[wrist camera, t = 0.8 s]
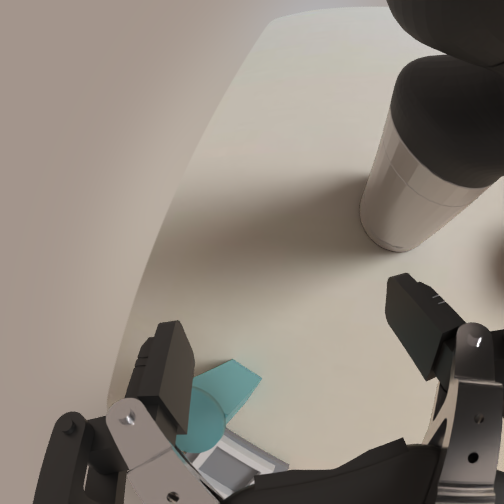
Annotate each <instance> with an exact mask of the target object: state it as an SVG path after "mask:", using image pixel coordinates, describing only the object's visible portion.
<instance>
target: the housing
mask: <svg viewBox="0 0 504 504" xmlns="http://www.w3.org/2000/svg"><path fill="white" fill-rule="evenodd" d="M185 456H186V457H187V458H188V460H189V461H190V462H191V463H192V464H193V466H194V467H195V468H196V469H197V470H198V472H199V473H200V474H201V475H202V476H203V477H204V478H205V479H206V480H207V482H208V483H209V484H210V485H211V486H212V487H213V488H214V489H215V490H216V491H217V492H218V493H219V494H220V495H221V496H222V497H223V498H224V499H225V498H227V497H228V496H230V495H231V494H232V493H234V492H236V491H238V490H239V489H241V488H244V487H246V486H248V485H251V484H254V475H261V474H269V473H276V472H282V471H287V470H288V468H289V464H287V463H285V462H283V461H281V460H279V459H277V458H276V457H274V456H272V455H270V454H268V453H267V452H265V451H263V450H261V449H260V448H258V447H256V446H255V445H253V444H251V443H250V442H248V441H246V440H245V439H243V438H241V437H240V436H238V435H237V434H235V433H233V432H232V431H230V430H229V429H227V428H226V429H225V432H224V435H223V436H222V438H221V439H220V440H219V442H218V443H217V444H216V445H215V446H214V447H213V448H211V449H210V450H208V451H205V452H202V453H189V452H187V453H186V454H185Z"/></svg>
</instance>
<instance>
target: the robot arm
mask: <svg viewBox="0 0 504 504" xmlns="http://www.w3.org/2000/svg"><path fill="white" fill-rule="evenodd" d="M387 3H388V5H389V8H390V10H391V12H392V14H393V16H394V18H395V19H396V21H397V22H398V23H399V25H400V26H401V27H402V28H403V29H404V31H406V32H407V33H408V34H410V35H411V36H412V37H413V38H415V39H416V40H418V41H419V42H421V43H423V44H425V45H427V46H429V47H431V48H434V49H436V50H439V51H441V52H443V53H445V54H447V55H436V56H427V57H422V58H419V59H416V60H414V61H412V62H410V63H409V64H407V65H406V66H405V67H404V68H403V69H402V71H401V72H400V74H399V76H398V78H397V80H396V83H395V86H394V91H393V95H392V99H391V104H390V108H389V112H388V115H387V119H386V123H385V126H384V130H383V134H382V137H381V141H380V144H379V147H378V151H377V154H376V157H375V160H374V163H373V166H372V169H371V172H370V175H369V178H368V181H367V184H366V187H365V190H364V193H363V195H362V198H361V202H360V218H361V222H362V225H363V227H364V229H365V231H366V233H367V234H368V236H369V237H370V238H371V239H372V240H373V241H374V242H375V243H376V244H378V245H379V246H381V247H383V248H385V249H387V250H390V251H395V252H405V251H408V250H412V249H414V248H415V247H417V246H419V245H420V244H421V243H423V242H424V241H425V240H427V239H428V238H429V237H431V236H432V235H433V234H435V233H436V232H437V231H438V230H440V229H441V228H442V227H443V226H445V225H446V224H447V223H448V222H450V221H451V220H452V219H453V218H455V217H456V216H457V215H458V214H459V213H461V212H462V211H463V210H464V209H465V208H466V207H468V206H469V205H470V204H471V203H472V202H473V201H475V200H476V199H477V198H478V197H479V196H480V195H481V194H482V193H483V192H485V191H486V190H487V189H488V188H489V187H490V186H491V185H492V184H493V183H494V182H496V181H497V180H498V179H499V178H500V177H501V176H504V0H387ZM385 314H386V319H387V322H388V324H389V325H390V327H391V328H392V330H393V331H394V333H395V334H396V336H397V337H398V339H399V340H400V342H401V343H402V345H403V346H404V348H405V349H406V351H407V352H408V354H409V355H410V357H411V358H412V360H413V361H414V363H415V365H416V366H417V368H418V369H419V371H420V372H421V374H422V376H423V377H424V379H425V380H426V381H428V380H430V379H433V378H435V377H437V378H438V380H439V382H438V384H437V389H436V394H435V400H434V405H433V409H432V414H431V418H430V423H429V426H428V430H427V432H426V434H425V437H424V439H423V442H422V444H409V445H406V443H405V441H404V439H403V437H402V438H400V439H398V440H395V441H393V442H390V443H387V444H385V445H382V446H379V447H376V448H374V449H371V450H368V451H367V452H365V453H363V454H362V455H360V456H358V457H356V458H355V459H353V460H351V461H349V462H347V463H346V464H344V465H342V466H340V467H338V468H336V469H331V470H288V471H282V472H276V473H269V474H261V475H254V484H251V485H248V486H246V487H244V488H241V489H239V490H238V491H236V492H234V493H232V494H231V495H230V496H228V497H227V498H225V499H224V498H223V497H222V496H221V495H220V494H219V493H218V492H217V491H216V490H215V489H214V488H213V487H212V486H211V485H210V484H209V483H208V482H207V480H206V479H205V478H204V477H203V476H202V475H201V474H200V473H199V472H198V470H197V469H196V468H195V467H194V466H193V464H192V463H191V462H190V461H189V460H188V458H187V457H186V456H185V455H184V454H183V452H182V451H181V450H180V448H179V447H178V446H177V445H176V435H187V431H188V420H189V410H190V401H191V391H192V383H193V374H194V366H195V360H194V354H193V351H192V348H191V346H190V343H189V341H188V339H187V336H186V334H185V332H184V329H183V327H182V325H181V323H180V321H178V320H177V321H170V322H163V323H159V324H158V327H157V330H156V333H155V336H154V337H149V338H148V339H147V341H146V342H145V343H144V344H143V345H142V347H141V349H140V352H139V355H138V359H137V361H136V364H135V368H134V370H133V373H132V376H131V379H130V382H129V385H128V389H127V392H126V395H125V398H124V399H121V400H119V401H117V402H115V403H114V404H113V405H112V406H111V407H110V408H109V410H108V412H107V415H106V416H103V417H99V418H95V419H91V420H86V419H85V418H84V417H83V416H82V415H81V414H80V413H78V412H68V413H66V414H64V415H62V416H61V417H60V418H59V419H58V420H57V422H56V423H55V426H54V429H53V432H52V434H51V438H50V441H49V444H48V447H47V450H46V453H45V457H44V460H43V464H42V468H41V471H40V475H39V479H38V483H37V487H36V492H35V496H34V501H33V504H124V493H125V483H126V475H127V477H128V479H129V481H130V483H131V485H132V487H133V488H134V490H135V492H136V493H137V495H138V496H139V498H140V500H141V501H142V503H143V504H504V472H502V471H499V470H497V464H498V458H499V450H500V442H501V432H502V417H503V418H504V329H503V330H497V331H491V332H490V331H489V330H488V329H487V328H486V327H485V326H483V325H481V324H478V323H472V322H471V323H466V322H465V321H464V320H463V319H462V318H461V317H460V316H459V315H458V314H457V313H456V312H455V311H454V310H453V309H452V308H451V307H450V306H449V305H448V304H447V303H446V302H445V301H444V300H443V299H442V298H441V297H440V296H439V295H438V294H437V293H436V292H435V291H434V290H433V289H432V288H431V287H430V286H428V285H426V284H424V283H422V282H417V281H416V280H415V279H413V278H412V277H411V276H410V275H409V274H408V273H403V274H400V275H396V276H392V277H389V279H388V282H387V294H386V306H385ZM87 465H88V466H89V469H88V474H87V480H86V486H85V491H84V489H83V485H84V479H85V474H86V469H87ZM127 470H130V471H128V472H127Z"/></svg>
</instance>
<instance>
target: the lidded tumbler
mask: <svg viewBox="0 0 504 504" xmlns="http://www.w3.org/2000/svg"><path fill="white" fill-rule="evenodd" d="M261 379H262V378H261V377H259V376H258V375H256V374H255V373H253V372H252V371H250V370H248V369H247V368H245V367H244V366H242V365H241V364H239V363H238V362H236V361H235V360H233V359H232V360H230V361H228V362H226V363H224V364H222V365H220V366H218V367H216V368H213V369H211V370H209V371H207V372H205V373H203V374H200V375H198V376H196V377H194V378H193V383H192V391H191V401H190V410H189V420H188V431H187V435H176V445H177V446H178V447H179V448H180V450H182V451H185V452H189V453H202V452H205V451H208V450H210V449H211V448H213V447H214V446H215V445H216V444H217V443H218V442H219V440H220V439H221V438H222V436H223V435H224V432H225V429H226V424H227V423H228V422H229V421H230V420H231V418H232V417H233V416H234V415H235V414H236V413H237V412H238V411H239V409H240V408H241V407H242V406H243V405H244V404H245V402H246V401H247V399H248V398H249V397H250V395H251V394H252V392H253V391H254V389H255V388H256V387H257V385H258V384H259V382H260V381H261Z"/></svg>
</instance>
